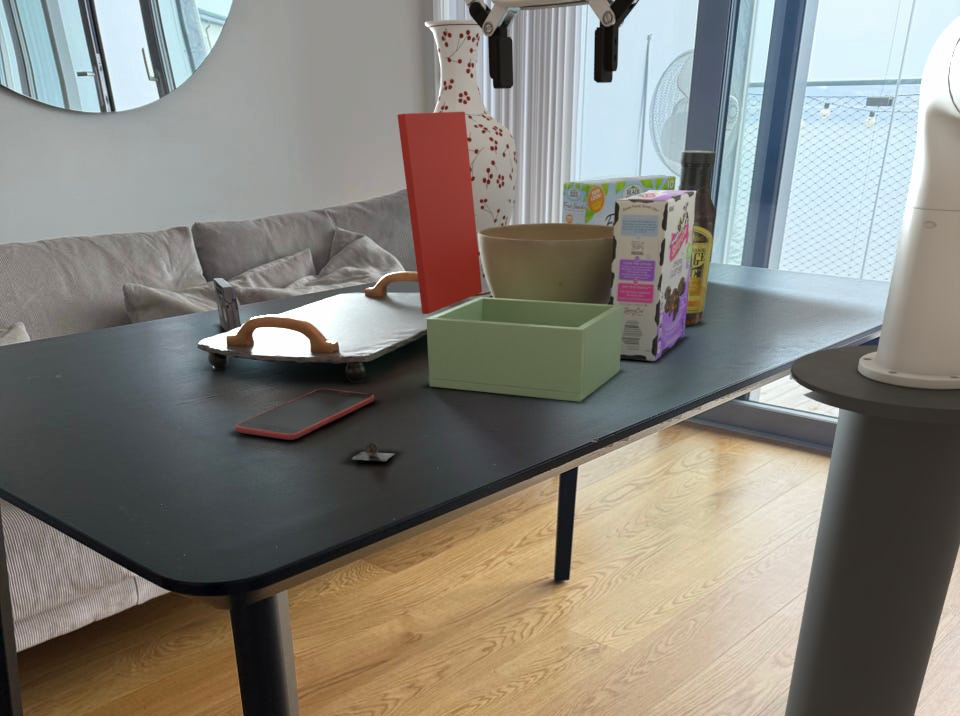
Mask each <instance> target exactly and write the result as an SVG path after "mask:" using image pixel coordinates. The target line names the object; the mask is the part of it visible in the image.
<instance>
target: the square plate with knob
mask: <svg viewBox="0 0 960 716" xmlns="http://www.w3.org/2000/svg"><path fill="white" fill-rule="evenodd" d="M394 455H395V453H391V452H390V453H388V452H379V447H378V444H377V443H376V442H369V443H368V445H367V444H366V447H365V451H361V452H359V453H357V454H356V455H355V456H353V457H352V458H351V460H353V461H354V460H355V461H372V462H387V461H388V460H389V459H390V458H392V457H393V456H394Z"/></svg>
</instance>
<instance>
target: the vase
mask: <svg viewBox="0 0 960 716" xmlns="http://www.w3.org/2000/svg"><path fill="white" fill-rule="evenodd" d="M424 25H425V27H427V28H429V30H430V31H431V32H432V34H433V38H434V40H435V44H436V49H437V54H438V60H439V66H440V87H439V92H438V97H437V102H436V105H435V108H434V110H433V112H432V113H437V112H465V119H466V129H467V140H468V150H469V161H470V171H471V182H472V192H473V203H474V213H475V223H476V234H477V244H478V255H479V265H480V276H481V286H482V292H481V293H479V294H477V295H474V296H472V297H469V298H471V299H476V298H478V297H489V298H491V296H492V294H491V291H490V289H489V286H488V284H487V280H486V277H485V274H484V270H483V266H482V261H481V256H480V250H479V242H478V231H480V230H482V229H486V228H490V227H497V226H505V225H511V224H510V223H511V219H512V217H513V216H512V215H513V212H514V208H515V203H516V202H515V201H516V188H517V187H516V186H517V175H518V174H517V173H518V161H517V160H518V159H517V149H516V140H515V139H514V137H513V135H512V134H511V132H510V130H509V129H508V128H507V127H506V126H505V125H503V124H502V122H500V121H498V120H497V119H496V118H494V117H493V115H491V113H490V112H489V111H488V110H487V108H486V106H485V105H484V102H483V100H482V96H481V92H480V88H479V83H478V68H477V67H478V66H477V65H478V57H479V49H480V41H481V38H482V35H483V31H482V29H481V27H480V26H479V25H478V24H477V23H476V21H475V20H474V19H443V20H442V19H440V20H439V19H438V20H428V21H425V22H424Z"/></svg>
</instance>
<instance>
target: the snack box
mask: <svg viewBox="0 0 960 716" xmlns="http://www.w3.org/2000/svg"><path fill="white" fill-rule="evenodd" d="M676 180H677V177H676V176H675V175H665V174H647V175H635V176H634V175H632V176H620V177H619V176H618V177H609V178H608V177H607V178H597V179H596V178H595V179H586V180H585V179H584V180H572V181H564V182H563V189H562V210H561V211H562V214H561V223H577V224H597V225H608V226H614V213H615V201H616V199H623V198H627V197H631V196H634V195H638V194H641V193H645V192H647V191H648V190H676Z"/></svg>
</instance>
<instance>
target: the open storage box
mask: <svg viewBox="0 0 960 716" xmlns="http://www.w3.org/2000/svg"><path fill="white" fill-rule="evenodd" d="M622 317H623V305H607V304H590V303H573V302H556V301H540V300H523V299H506V298H493V297H478V298H476V299H473V300H471V301H468V302H466V303H463V304H461V305H459V306H456V307H454V308H451V309H449V310H446V311H444V312H441V313H439V314H437V315H434V316H432V317H429V318H427V319H426V322H427V335H426V338H427V339H426V341H427V359H428V360H427V361H428V378H429V381H428V382H429V387H430V388H431V387H434V388H441V389H442V388H443V389H452V390H462V391H471V392H480V393H481V392H482V393H490V394H500V395H501V394H502V395H510V396H519V397H527V398H539V399H547V400H548V399H549V400H558V401H567V402H569V401H570V402H578V403H580V402H582V401H584V399H586V398H587V397H588V396H590V395H591V394H592V393H594V392H595V391H597V389H598V388H600V387H601V386H602V385H604V384H605V383H606V382H608V381H609V380H610V379H612V378H613V377H614V376H616V375H617V374H618V373H619V372H620V371H621V370H620V369H621V358H620V354H621V336H622Z"/></svg>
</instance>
